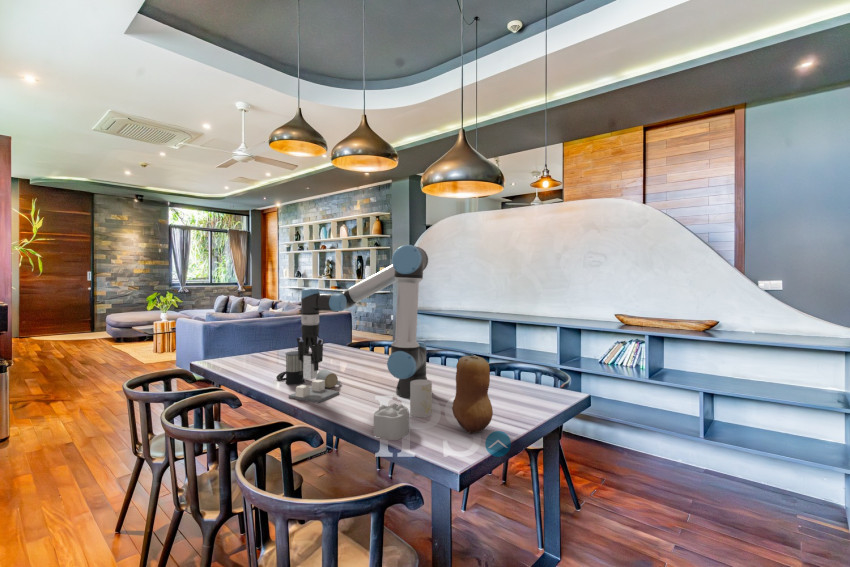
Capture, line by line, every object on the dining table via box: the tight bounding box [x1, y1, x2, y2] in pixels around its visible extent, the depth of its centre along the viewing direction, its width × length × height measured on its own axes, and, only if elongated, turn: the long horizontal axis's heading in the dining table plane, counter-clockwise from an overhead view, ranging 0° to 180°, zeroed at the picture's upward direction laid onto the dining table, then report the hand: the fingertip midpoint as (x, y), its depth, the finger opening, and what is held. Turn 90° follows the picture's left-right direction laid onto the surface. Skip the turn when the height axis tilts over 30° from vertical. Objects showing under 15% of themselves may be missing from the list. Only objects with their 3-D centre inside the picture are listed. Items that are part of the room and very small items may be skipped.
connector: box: [304, 351, 313, 380], centre depth 181 cm, size 4×4×11 cm
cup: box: [409, 379, 433, 418], centre depth 157 cm, size 8×8×12 cm
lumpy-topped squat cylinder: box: [373, 403, 410, 441], centre depth 139 cm, size 10×13×9 cm
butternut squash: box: [452, 355, 494, 434], centre depth 140 cm, size 14×13×25 cm
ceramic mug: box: [315, 368, 342, 389], centre depth 197 cm, size 11×8×8 cm
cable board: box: [288, 379, 340, 404], centre depth 181 cm, size 16×14×5 cm
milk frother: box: [276, 350, 306, 385], centre depth 206 cm, size 14×16×15 cm
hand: (310, 377), depth 181 cm, fingers closed on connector, 4 cm apart
